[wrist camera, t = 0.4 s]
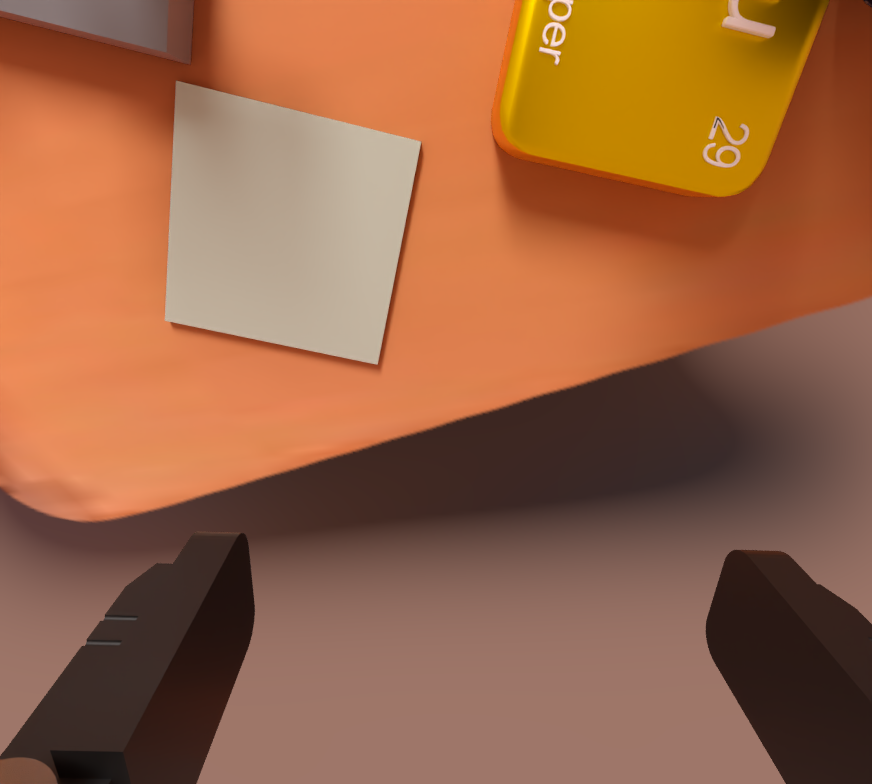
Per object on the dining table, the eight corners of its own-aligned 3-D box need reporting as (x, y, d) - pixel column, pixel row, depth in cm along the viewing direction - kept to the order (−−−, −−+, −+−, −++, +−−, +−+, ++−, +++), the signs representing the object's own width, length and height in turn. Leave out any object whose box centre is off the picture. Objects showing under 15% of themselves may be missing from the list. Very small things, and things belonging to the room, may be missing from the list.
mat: (180, 82, 30) (175, 80, 30) (421, 142, 32) (421, 141, 31) (168, 318, 35) (164, 320, 35) (378, 362, 37) (377, 364, 36)
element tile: (549, -166, 27) (573, -236, 23) (820, -90, 29) (894, -142, 24) (482, 151, 32) (491, 145, 28) (714, 202, 34) (758, 205, 29)
